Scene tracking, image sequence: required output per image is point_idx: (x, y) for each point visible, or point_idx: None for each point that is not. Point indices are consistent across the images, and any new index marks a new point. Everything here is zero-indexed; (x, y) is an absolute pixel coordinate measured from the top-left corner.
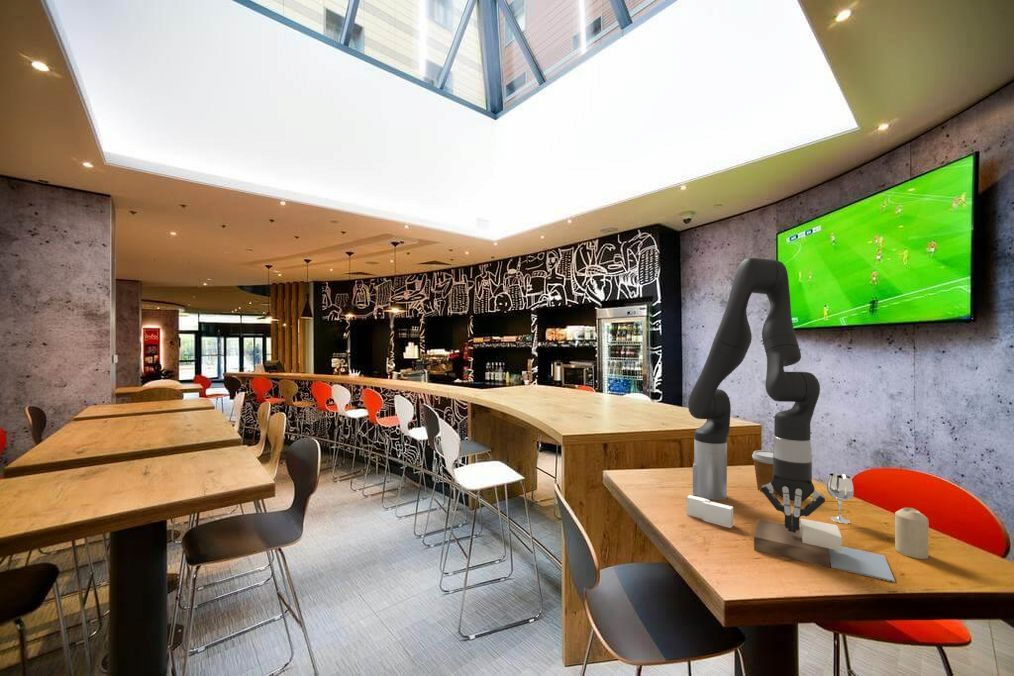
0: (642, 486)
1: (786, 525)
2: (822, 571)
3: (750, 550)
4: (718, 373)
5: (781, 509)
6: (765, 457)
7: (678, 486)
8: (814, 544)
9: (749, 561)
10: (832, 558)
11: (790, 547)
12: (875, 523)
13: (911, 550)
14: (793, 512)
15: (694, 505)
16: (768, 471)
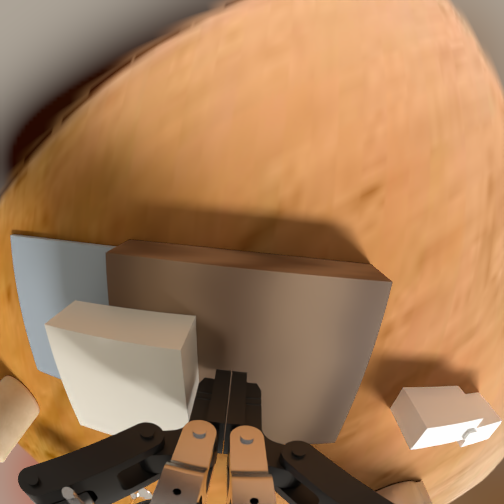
0: (494, 448)
1: (253, 391)
2: (152, 197)
3: (383, 250)
4: None
5: (282, 449)
6: None
7: (431, 490)
8: (151, 313)
9: (393, 152)
10: None
11: (248, 263)
12: None
13: (8, 386)
14: (214, 443)
15: (482, 412)
16: None
